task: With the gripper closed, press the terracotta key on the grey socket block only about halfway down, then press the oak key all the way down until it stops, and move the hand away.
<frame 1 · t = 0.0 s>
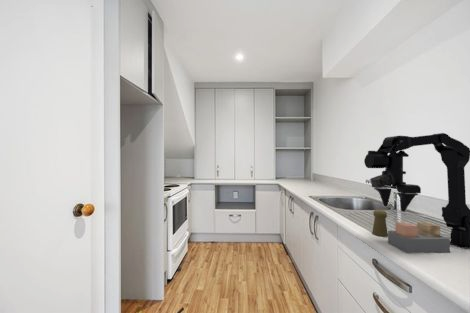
hand: (393, 208, 90), 15 cm above the countertop, tool pointing down, fingers open, 9 cm apart
terracotta key: (406, 231, 89), point 6 cm above the countertop, slide at 0.0 cm
grey socket block: (417, 247, 89), on the countertop
oak key: (428, 231, 90), point 6 cm above the countertop, slide at 0.0 cm
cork: (379, 235, 105), on the countertop
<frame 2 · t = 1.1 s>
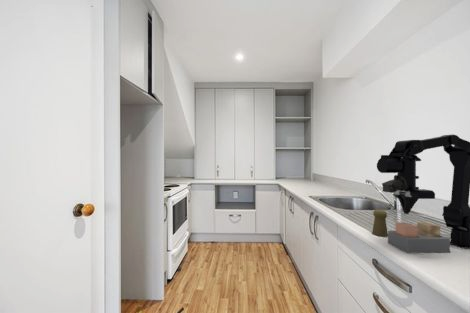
hand: (406, 213, 89), 13 cm above the countertop, tool pointing down, fingers closed
nothing on the countertop moved.
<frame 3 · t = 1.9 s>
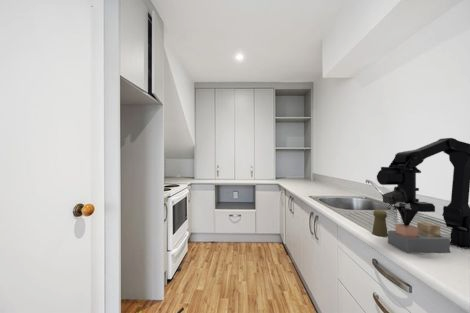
hand: (406, 225, 89), 8 cm above the countertop, tool pointing down, fingers closed, pressing on terracotta key
terracotta key: (406, 232, 89), point 6 cm above the countertop, slide at 0.5 cm, touching gripper
everything else where it was.
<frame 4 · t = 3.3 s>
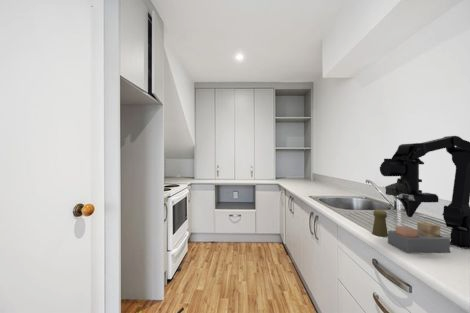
hand: (409, 216, 89), 12 cm above the countertop, tool pointing down, fingers closed
terracotta key: (406, 235, 89), point 5 cm above the countertop, slide at 1.4 cm
everything else where it was.
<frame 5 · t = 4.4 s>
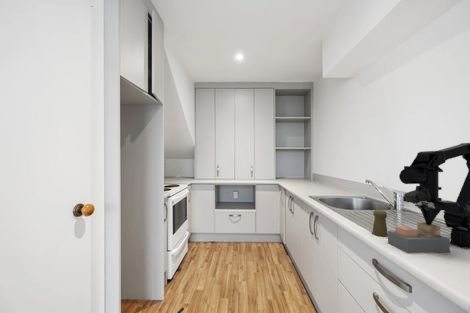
hand: (428, 224, 90), 9 cm above the countertop, tool pointing down, fingers closed, pressing on oak key
oak key: (428, 231, 90), point 6 cm above the countertop, slide at 0.1 cm, touching gripper
everything else where it was.
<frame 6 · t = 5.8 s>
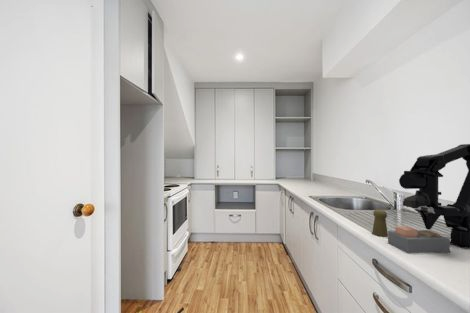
hand: (428, 229, 90), 7 cm above the countertop, tool pointing down, fingers closed
oak key: (428, 239, 90), point 3 cm above the countertop, slide at 3.1 cm
everything else where it was.
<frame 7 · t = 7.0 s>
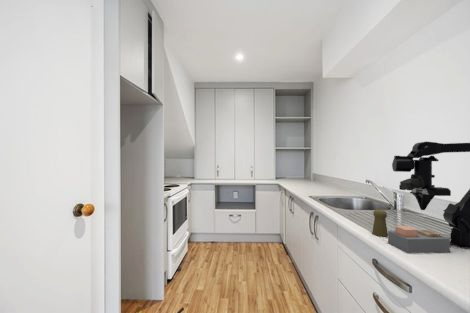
hand: (422, 209, 96), 13 cm above the countertop, tool pointing down, fingers closed
nothing on the countertop moved.
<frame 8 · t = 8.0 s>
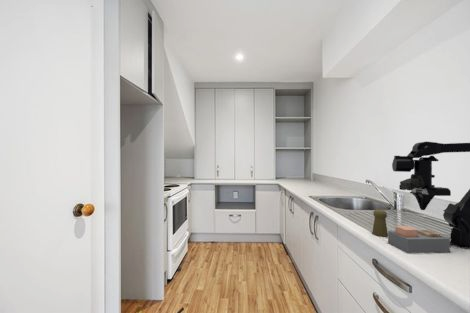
hand: (422, 209, 96), 13 cm above the countertop, tool pointing down, fingers closed
nothing on the countertop moved.
at the end: oak key slide at 3.1 cm; terracotta key slide at 1.4 cm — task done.
